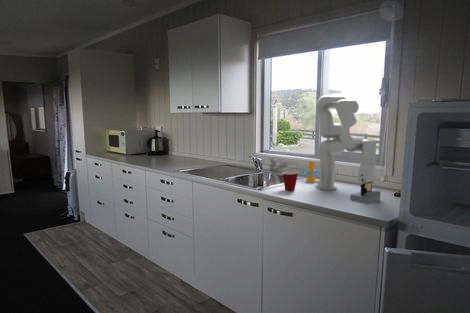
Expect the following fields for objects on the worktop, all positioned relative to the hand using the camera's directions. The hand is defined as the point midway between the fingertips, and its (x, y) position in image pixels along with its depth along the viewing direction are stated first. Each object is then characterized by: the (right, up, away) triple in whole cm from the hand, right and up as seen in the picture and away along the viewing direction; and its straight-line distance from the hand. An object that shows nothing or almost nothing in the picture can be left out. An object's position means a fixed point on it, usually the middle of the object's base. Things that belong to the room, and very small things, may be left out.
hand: (366, 193), depth 183 cm
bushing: (0, -2, 0) cm, 2 cm away
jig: (0, -4, +1) cm, 4 cm away
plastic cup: (-39, -1, +23) cm, 46 cm away
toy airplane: (-19, +3, +50) cm, 54 cm away
